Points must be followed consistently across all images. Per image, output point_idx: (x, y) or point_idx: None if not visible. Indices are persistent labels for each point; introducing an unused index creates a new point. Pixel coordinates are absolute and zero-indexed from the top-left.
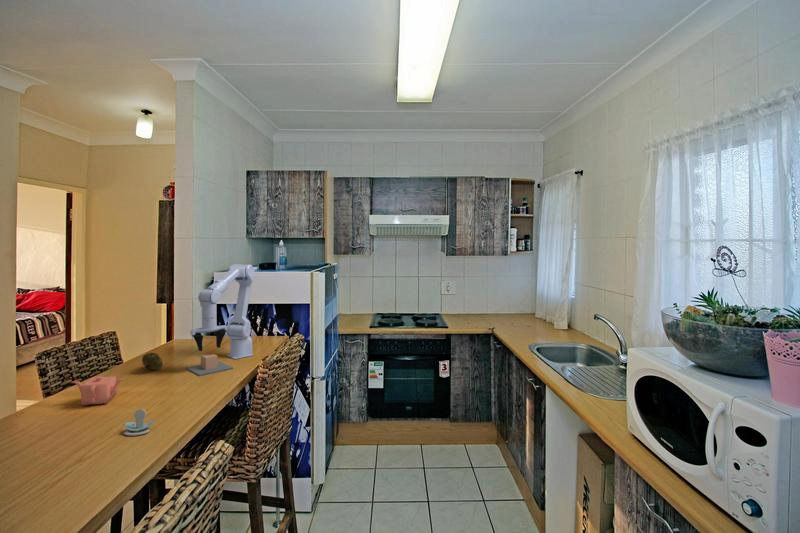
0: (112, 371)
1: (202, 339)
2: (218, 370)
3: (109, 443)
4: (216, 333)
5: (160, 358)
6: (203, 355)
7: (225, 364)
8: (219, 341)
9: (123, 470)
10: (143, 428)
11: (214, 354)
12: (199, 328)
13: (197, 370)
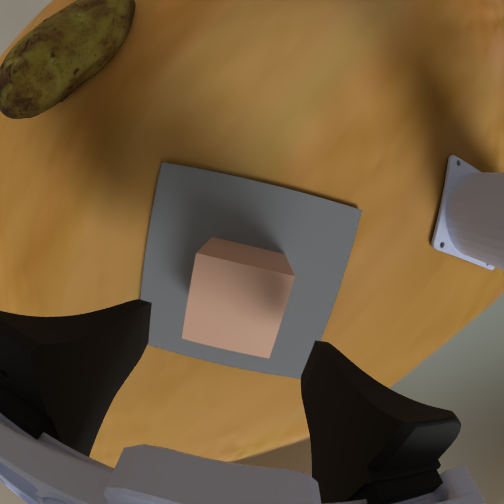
0: (44, 11)
1: (96, 432)
2: (230, 364)
3: None
4: (369, 434)
5: (49, 85)
6: (214, 262)
7: (327, 310)
8: (310, 426)
9: None
10: None
11: (283, 311)
12: (2, 457)
13: (164, 276)
